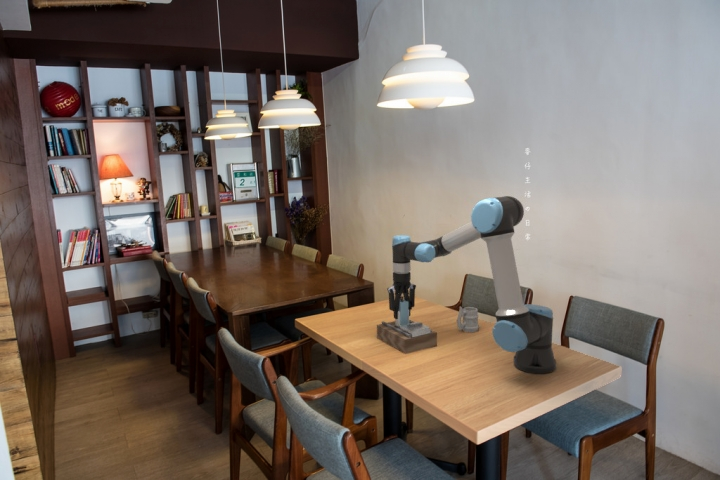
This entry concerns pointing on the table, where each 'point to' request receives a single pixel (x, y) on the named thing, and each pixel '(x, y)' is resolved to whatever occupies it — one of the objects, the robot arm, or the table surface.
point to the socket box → (405, 338)
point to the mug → (468, 319)
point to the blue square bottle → (403, 312)
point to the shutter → (415, 329)
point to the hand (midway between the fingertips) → (402, 324)
